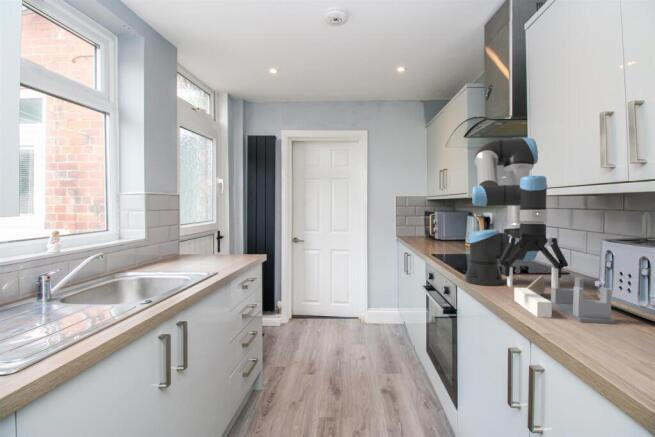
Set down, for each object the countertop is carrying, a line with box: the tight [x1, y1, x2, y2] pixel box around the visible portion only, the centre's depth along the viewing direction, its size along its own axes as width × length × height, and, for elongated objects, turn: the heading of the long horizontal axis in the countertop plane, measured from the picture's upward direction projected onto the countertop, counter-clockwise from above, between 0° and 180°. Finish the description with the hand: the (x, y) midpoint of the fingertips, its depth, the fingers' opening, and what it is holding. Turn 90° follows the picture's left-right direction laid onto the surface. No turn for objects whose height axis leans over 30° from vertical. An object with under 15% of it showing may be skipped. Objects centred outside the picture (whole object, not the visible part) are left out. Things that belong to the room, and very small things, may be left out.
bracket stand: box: [548, 276, 616, 325], centre depth 107 cm, size 20×9×10 cm, turn 170°
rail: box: [513, 287, 553, 319], centre depth 111 cm, size 18×4×5 cm, turn 171°
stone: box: [526, 275, 546, 296], centre depth 127 cm, size 10×7×10 cm
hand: (531, 287), depth 111 cm, fingers open, 13 cm apart
